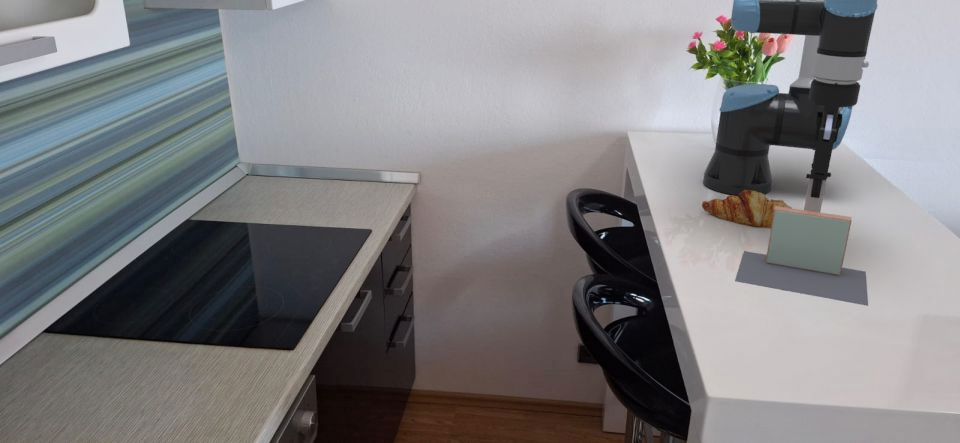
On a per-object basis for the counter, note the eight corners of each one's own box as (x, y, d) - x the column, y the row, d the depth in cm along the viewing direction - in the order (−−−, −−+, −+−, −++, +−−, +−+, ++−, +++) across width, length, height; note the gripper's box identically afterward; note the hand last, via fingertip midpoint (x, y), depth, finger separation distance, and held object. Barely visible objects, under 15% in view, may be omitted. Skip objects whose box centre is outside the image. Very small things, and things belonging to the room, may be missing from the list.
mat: (743, 255, 136) (744, 251, 136) (864, 275, 129) (865, 271, 128) (734, 285, 124) (734, 280, 124) (867, 310, 117) (868, 305, 116)
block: (766, 258, 133) (775, 206, 129) (840, 271, 128) (851, 217, 125) (765, 263, 131) (774, 209, 127) (840, 276, 126) (851, 220, 123)
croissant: (806, 241, 152) (812, 203, 153) (812, 235, 143) (819, 194, 143) (699, 224, 159) (705, 188, 160) (698, 217, 149) (705, 178, 150)
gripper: (862, 88, 118) (834, 228, 126) (860, 76, 129) (834, 204, 137) (810, 84, 120) (786, 220, 129) (813, 72, 132) (791, 198, 140)
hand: (811, 212), depth 133 cm, fingers closed
